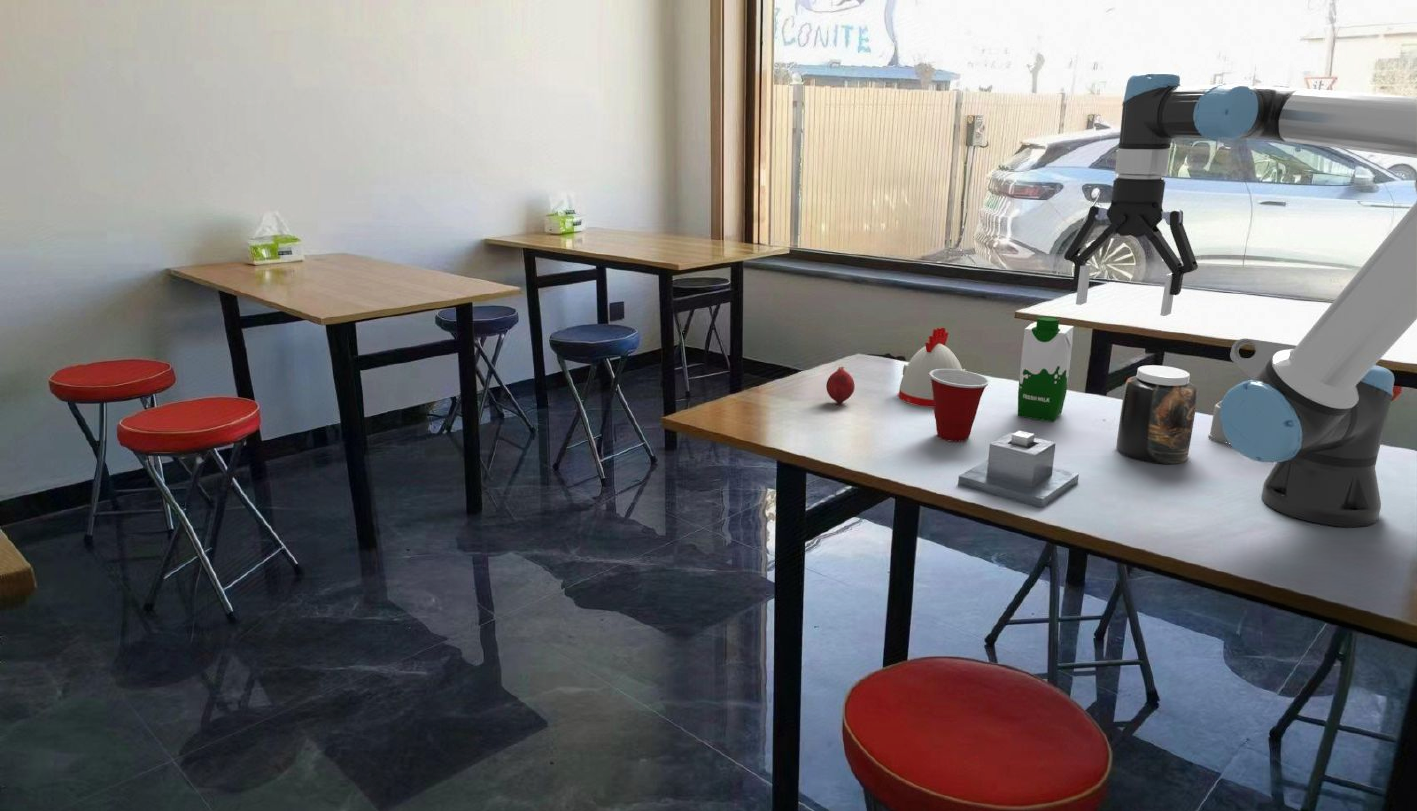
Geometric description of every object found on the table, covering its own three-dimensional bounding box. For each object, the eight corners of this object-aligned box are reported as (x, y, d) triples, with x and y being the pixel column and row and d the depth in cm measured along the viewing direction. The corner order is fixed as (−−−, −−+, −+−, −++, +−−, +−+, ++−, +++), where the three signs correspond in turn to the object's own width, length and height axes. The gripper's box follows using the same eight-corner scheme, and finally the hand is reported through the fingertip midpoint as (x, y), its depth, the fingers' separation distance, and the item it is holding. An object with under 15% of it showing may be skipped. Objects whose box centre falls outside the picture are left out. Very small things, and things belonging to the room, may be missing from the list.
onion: (855, 407, 190) (857, 370, 187) (827, 407, 190) (828, 370, 187) (851, 399, 195) (853, 362, 193) (824, 399, 195) (825, 362, 193)
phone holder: (1203, 438, 171) (1219, 344, 166) (1221, 426, 178) (1237, 335, 173) (1311, 461, 160) (1331, 361, 154) (1325, 447, 167) (1345, 351, 161)
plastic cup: (986, 448, 166) (992, 384, 163) (925, 444, 168) (929, 381, 165) (982, 429, 176) (987, 368, 173) (924, 425, 178) (928, 366, 175)
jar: (1105, 453, 164) (1116, 371, 159) (1129, 437, 172) (1140, 359, 168) (1175, 469, 156) (1189, 384, 152) (1197, 452, 164) (1210, 371, 160)
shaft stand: (1077, 482, 151) (1084, 433, 148) (1041, 508, 141) (1047, 455, 138) (997, 461, 160) (1002, 415, 157) (958, 484, 150) (962, 435, 147)
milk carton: (1011, 416, 184) (1021, 318, 178) (1023, 405, 191) (1033, 310, 185) (1057, 424, 179) (1069, 323, 173) (1067, 412, 187) (1079, 315, 181)
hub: (1051, 474, 150) (1055, 442, 148) (1031, 487, 145) (1035, 454, 143) (1007, 463, 155) (1011, 432, 153) (986, 475, 149) (989, 443, 148)
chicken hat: (977, 397, 197) (983, 328, 193) (946, 411, 187) (952, 339, 183) (919, 385, 206) (923, 319, 202) (886, 398, 196) (891, 329, 192)
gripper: (1233, 179, 141) (1210, 315, 147) (1071, 172, 157) (1057, 296, 163) (1219, 181, 135) (1196, 323, 142) (1053, 174, 152) (1039, 302, 158)
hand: (1122, 309), depth 152 cm, fingers open, 13 cm apart
